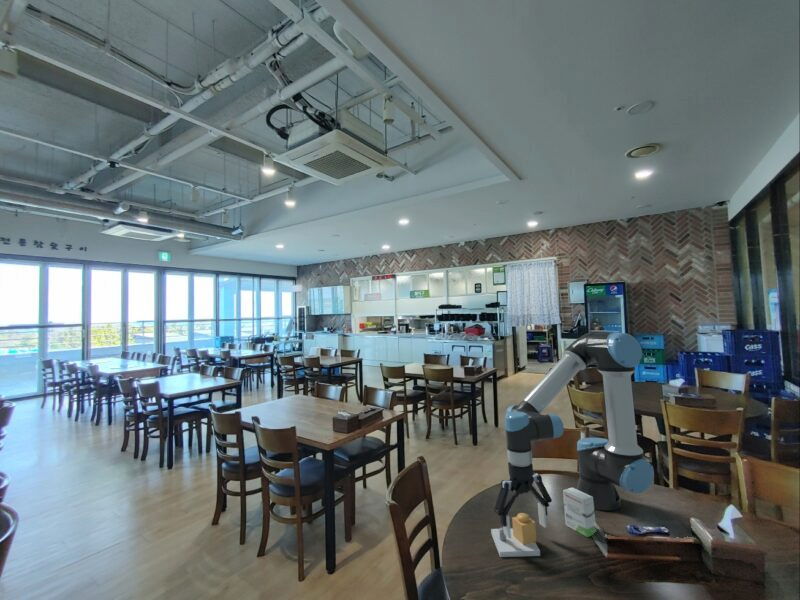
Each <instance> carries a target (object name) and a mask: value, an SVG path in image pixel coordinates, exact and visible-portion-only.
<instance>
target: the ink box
mask: <svg viewBox="0 0 800 600" xmlns="http://www.w3.org/2000/svg"><path fill="white" fill-rule="evenodd" d="M562 496H563V508H564V509H563V510H564V520H565V521H564V522H565V526H566V527H568V528H569V529H572V530H573V531H576V532H577V533H579V534H580V535H582V536H584V537H586V538H589V537H591V536H593V535H595V534H596V533H595V526H594V522H596V515H595V509H594V502H593V497H592V496H590V495H588V494H586V493H583V492H581V491H579V490H577V488H575V487H569V488H566V489H563V490H562ZM594 533H595V534H594Z"/></svg>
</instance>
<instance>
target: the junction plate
mask: <svg viewBox="0 0 800 600" xmlns="http://www.w3.org/2000/svg"><path fill="white" fill-rule="evenodd" d="M490 531H491V532H490V534H491V536H492V539H493V541H494V544H495V547H496V550H497V552H498V555H499V557H500V558H508V557H510V558H511V557H512V558H513V557H518V558H519V557H541V550H540V548H539V547H538V545H537V543H536V541H535V542H532V543H529V544H525V545H523V544H521V543H520V542H519V541H518V540H517V539H516V538H515V537H514V536H513V527H510V532H511V538H508V537H507V536H506V535H505V534H504V530H503V526H502V527H499V528H490Z"/></svg>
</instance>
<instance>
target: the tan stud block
mask: <svg viewBox="0 0 800 600" xmlns="http://www.w3.org/2000/svg"><path fill="white" fill-rule="evenodd" d="M511 520H512V528H513V536H514V537H515V538H516V539H517V540H518V541H519V542H520V543H521V544H523V545H525V544H529V543H532V542H535V543H536V542H537V529H536V526H537V525H536V521H534V519H532V518H531V517H530V515H529V514H528V513H525V512H518V514H517V515H516V516H514V517H513V516H512V517H511Z"/></svg>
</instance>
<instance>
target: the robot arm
mask: <svg viewBox="0 0 800 600" xmlns="http://www.w3.org/2000/svg"><path fill="white" fill-rule="evenodd" d="M642 357H643V351H642V347H641V344H640V343H639V341H638V340H637V339H636V338H635V337H634V336H633V335H631V334H630V333H625V332H618V331H613V332H611V331H610V332H608V331H607V332H605V331H603V332H598V331H595V332H594V331H591V332H588V333H585V334H584V335H581V336H580V337H578V338H576V340H573V342H572V343H570V344H569V345H568V346H567V347H566V348H565V349H564V350H563V352H562V356H561V357H560V358H559V360H558V361H557V363H556V364H555V365H553V367H552V368H551V369H550V370H549V371H548V372H547V374H545V376H543V378H542V379H541V380H540V381H539V382H538V383H537V384H536V385H535V386H534V387H533V389H532V390H531V391H530V392H529V393H528V394H527V395H526V396H525V397H524V399H522V401H521V402H520V403H519V404H513V405H510V406H508V408H507V409H506V410H505V411H506V412H505V416H504V430H505V440H506V449H507V450H506V451H507V452H506V453H507V454H506V455H507V461H508V462H507V466H508V474H509V479H508V480H504V479H502V480H500V490H499V492H498V496H497V500H496V502H495V505H494V509H493V512H494V513H496V514H497V516H499V517H500V524H501V525H502V527H503V530H504V534H505V535H506V536H507V537H508V538H511V532H510V528H511V521H510V515H508V514H509V512H510V510H511V508H512V506H513V504H514V502H515V500H516V499H517V498H518V497H519V495H523V494H528V493H531V494H532V495H533V496H534V498H536V500H537V501H538V503H537V512H538V513H537V514H538V524H539V525H540V526H542V528H544V529H546V528H548V524H547V516H548V508H549V507H550V503H552V501H553V500H552V498H551V496H550V494H549V492H548V490H547V488H546V486H545V485H544V482H543V478H542V477H543V476H542V475H540V474H539V473H537V472H534V467H533V454H532V453H533V452H532V443H534V442H540V441H546V440H554V439H556V438H560V437H562V436H563V434H564V423H563V421H562V419H561V418H560V416H558V415H557V414H554V413H547V414H542V413H543V412H544V411H545V409H547V407H548V406H549V405H550V404H551V403H552V402H553V401H554V399H555V398H556V397H557V396H558V395H560V393H561V392H562V390H563V389H564V388H566V386H567V385H568V384H569V382H571V380H572V379H574V378H575V376H576V375H577V374H578V373H579V371H582V370H583V371H584V370H585V369H586V368H587V367H589V365H592V364H596V369H597V371H598V372H599V373H600V374H601V375H602V381H603V382H602V383H603V394H604V402H605V403H604V404H605V415H606V425H607V426H606V427H607V436H608V439H607V438H603V437H583V438H579V440H578V441H577V442H576V446H577V447H576V453H577V463H578V474H579V479H578V482H577V487H576V489H577V490H579V491H581V492H583V493H586V494H588V495H590V496H592V497H593V502H594V510H598V511H616V510H618V509H620V508H621V507H622V501H621V500H622V499H621V496H620V494H619V491H618V489H617V487H616V486H618V487H619V488H621V489H623V490H624V491H627V492H630V493H633V494H642V493H644V492H645V491H647V490H648V489H649V487H650V486H651V485H652V483H653V481H654V477H655V470H654V466H653V465H652V464H651V462H649V460H646V459H645V455H644V450H643V448H642V447H640V445H638V439H637V438H638V437H637V427H636V420H635V419H636V416H635V407H634V397H633V388H632V386H633V385H632V375H633V374H634V373H635V372H636V367H637V366H638V365H639V364H640V363H641V360H642ZM534 482H535V484H536V487H537V488H538V491H540V493H541V494H540V493H539V492H538V491H537V489H536V488H535V486H533V484H534Z"/></svg>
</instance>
